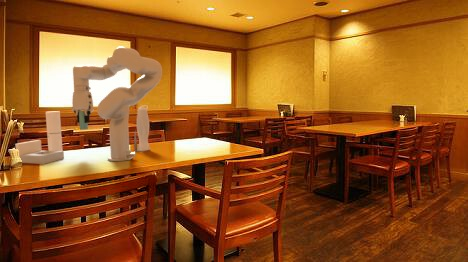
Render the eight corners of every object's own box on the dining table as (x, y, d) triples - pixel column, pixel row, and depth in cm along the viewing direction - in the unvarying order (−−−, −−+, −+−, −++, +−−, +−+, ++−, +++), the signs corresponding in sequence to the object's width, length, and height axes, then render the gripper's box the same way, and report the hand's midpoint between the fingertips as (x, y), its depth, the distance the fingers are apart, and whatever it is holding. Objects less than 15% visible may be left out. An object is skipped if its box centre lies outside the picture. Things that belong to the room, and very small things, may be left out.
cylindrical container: (56, 155, 182) (53, 112, 180) (45, 155, 184) (42, 112, 181) (65, 153, 189) (62, 111, 186) (55, 153, 191) (52, 111, 188)
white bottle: (144, 148, 203) (142, 104, 200) (153, 150, 198) (151, 105, 195) (133, 150, 196) (131, 105, 193) (142, 152, 191) (140, 105, 188)
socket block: (64, 158, 173) (63, 151, 172) (43, 163, 159) (42, 155, 159) (42, 157, 176) (41, 150, 175) (20, 162, 162) (19, 155, 162)
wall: (42, 157, 176) (40, 140, 175) (20, 163, 162) (18, 143, 161) (39, 157, 176) (37, 140, 175) (17, 163, 163) (15, 143, 161)
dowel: (89, 128, 178) (88, 111, 176) (84, 129, 174) (83, 111, 173) (83, 128, 179) (82, 110, 177) (78, 129, 175) (77, 111, 174)
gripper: (99, 89, 175) (100, 122, 177) (73, 89, 179) (75, 121, 181) (90, 89, 168) (92, 123, 170) (63, 89, 172) (65, 122, 174)
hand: (83, 122), depth 176 cm, fingers closed on dowel, 4 cm apart
